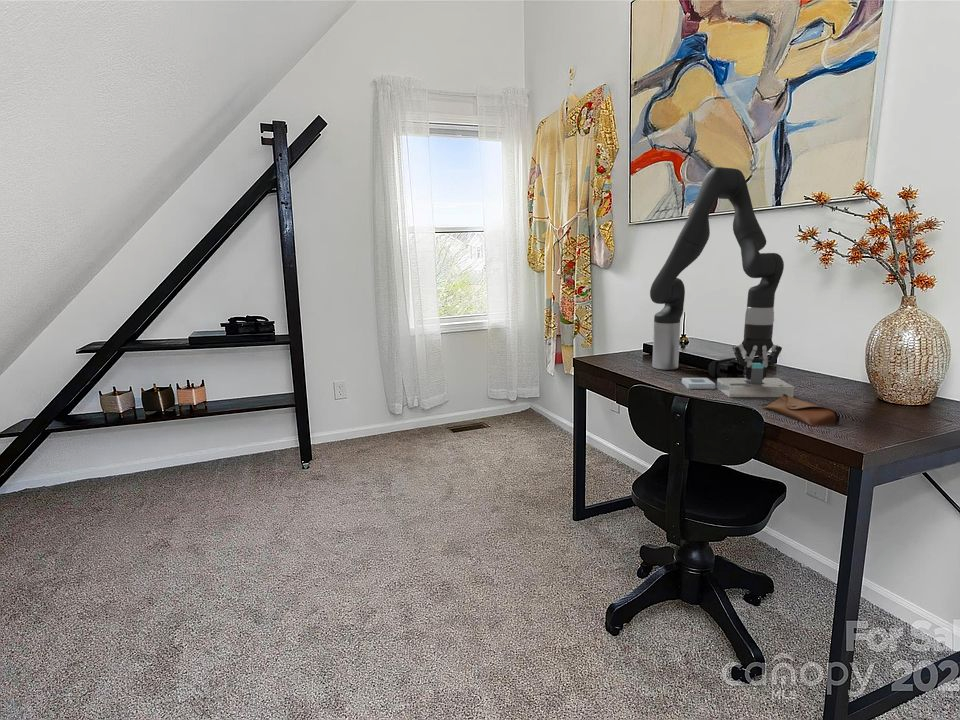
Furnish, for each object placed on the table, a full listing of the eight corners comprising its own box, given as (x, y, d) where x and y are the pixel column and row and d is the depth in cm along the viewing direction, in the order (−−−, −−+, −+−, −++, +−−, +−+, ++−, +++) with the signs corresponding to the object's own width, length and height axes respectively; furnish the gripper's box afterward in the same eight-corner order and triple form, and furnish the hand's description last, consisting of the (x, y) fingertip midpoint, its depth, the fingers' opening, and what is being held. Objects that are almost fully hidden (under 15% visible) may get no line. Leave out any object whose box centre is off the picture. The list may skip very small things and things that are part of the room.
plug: (746, 385, 165) (748, 362, 164) (757, 385, 165) (759, 362, 163) (750, 388, 162) (752, 365, 161) (761, 388, 162) (763, 365, 160)
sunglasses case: (758, 407, 152) (770, 386, 151) (775, 417, 154) (786, 396, 154) (813, 427, 135) (826, 403, 134) (830, 438, 137) (844, 415, 137)
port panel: (728, 400, 160) (729, 385, 159) (716, 390, 170) (717, 377, 169) (793, 400, 158) (794, 385, 157) (776, 390, 168) (777, 376, 168)
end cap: (727, 375, 190) (728, 356, 188) (744, 379, 184) (746, 359, 182) (707, 378, 185) (708, 359, 184) (724, 383, 179) (725, 363, 178)
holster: (681, 385, 177) (681, 377, 177) (706, 385, 177) (707, 377, 176) (688, 391, 170) (688, 383, 169) (714, 391, 169) (715, 383, 168)
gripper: (778, 320, 162) (773, 375, 166) (729, 320, 164) (725, 376, 167) (790, 323, 155) (784, 381, 159) (738, 324, 157) (734, 382, 160)
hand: (754, 378), depth 163 cm, fingers closed on plug, 3 cm apart
